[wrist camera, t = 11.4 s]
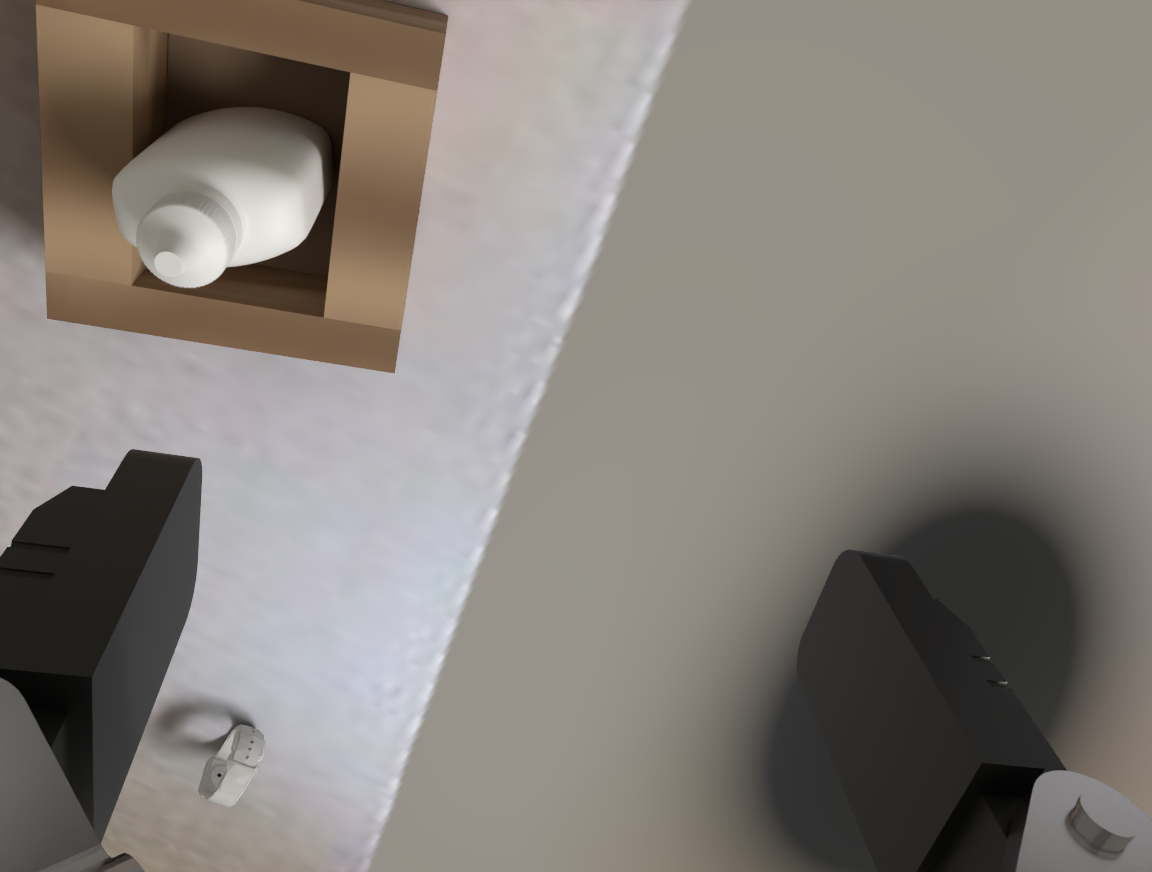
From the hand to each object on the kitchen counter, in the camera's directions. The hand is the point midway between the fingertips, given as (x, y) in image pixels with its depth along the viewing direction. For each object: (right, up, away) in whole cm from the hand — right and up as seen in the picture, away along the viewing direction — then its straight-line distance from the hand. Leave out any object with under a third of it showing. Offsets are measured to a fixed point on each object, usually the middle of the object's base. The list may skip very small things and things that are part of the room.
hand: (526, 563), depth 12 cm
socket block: (-11, +12, +24) cm, 29 cm away
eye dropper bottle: (-11, +12, +23) cm, 29 cm away
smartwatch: (-17, -14, +39) cm, 45 cm away
